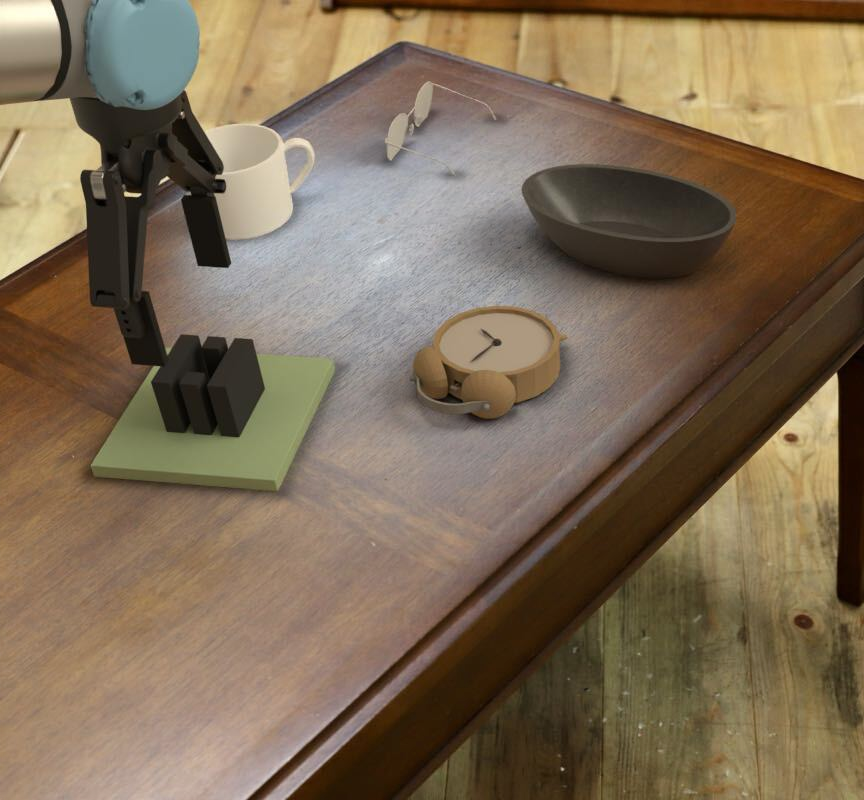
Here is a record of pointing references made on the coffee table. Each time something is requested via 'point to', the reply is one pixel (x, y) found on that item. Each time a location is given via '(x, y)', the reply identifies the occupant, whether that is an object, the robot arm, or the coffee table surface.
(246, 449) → the sage mat
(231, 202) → the mug
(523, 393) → the alarm clock
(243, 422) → the black slotted block
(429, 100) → the sunglasses
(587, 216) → the bowl
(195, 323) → the coffee table surface
